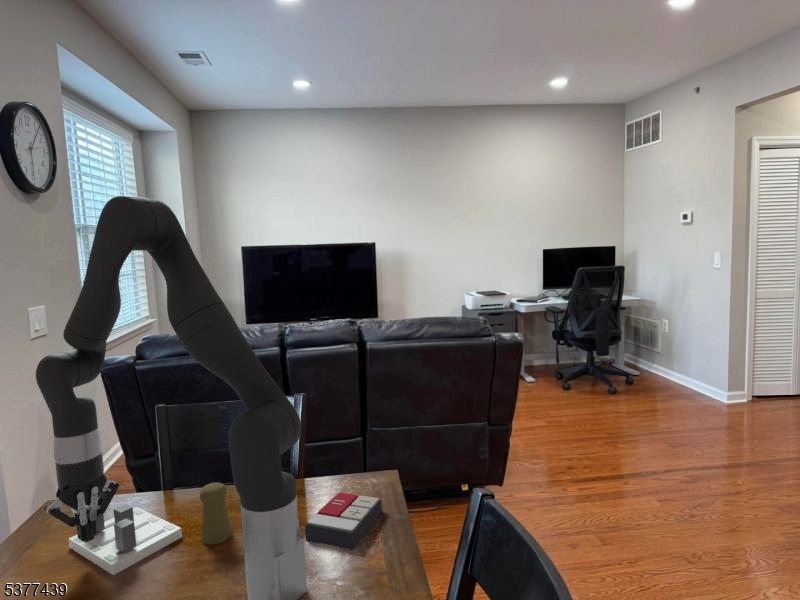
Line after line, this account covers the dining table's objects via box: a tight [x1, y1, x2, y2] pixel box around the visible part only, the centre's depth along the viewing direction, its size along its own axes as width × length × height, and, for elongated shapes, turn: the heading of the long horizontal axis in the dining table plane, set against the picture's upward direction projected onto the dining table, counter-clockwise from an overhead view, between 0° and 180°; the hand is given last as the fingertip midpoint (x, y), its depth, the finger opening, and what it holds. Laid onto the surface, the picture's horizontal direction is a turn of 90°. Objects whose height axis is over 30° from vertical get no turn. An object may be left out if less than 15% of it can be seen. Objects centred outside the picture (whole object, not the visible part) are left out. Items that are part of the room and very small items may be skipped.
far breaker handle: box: [96, 513, 105, 533], centre depth 103 cm, size 3×2×5 cm
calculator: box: [304, 491, 383, 550], centre depth 106 cm, size 11×4×15 cm
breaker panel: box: [68, 506, 183, 576], centre depth 102 cm, size 17×14×2 cm
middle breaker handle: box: [113, 503, 135, 527], centre depth 102 cm, size 3×2×5 cm
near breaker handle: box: [114, 518, 136, 553], centre depth 96 cm, size 3×2×5 cm
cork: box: [199, 482, 233, 545], centre depth 103 cm, size 6×6×11 cm
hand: (88, 539), depth 96 cm, fingers closed
